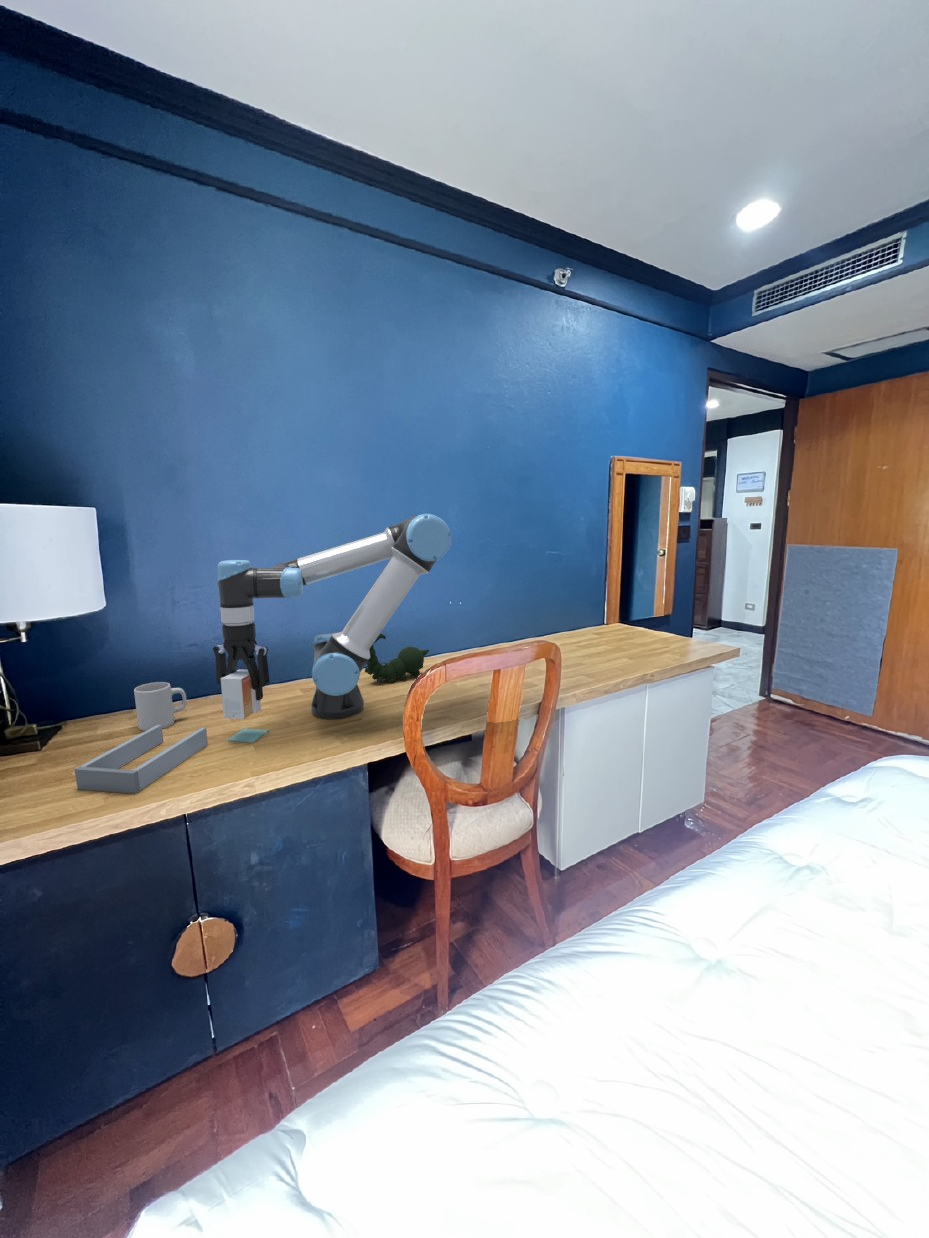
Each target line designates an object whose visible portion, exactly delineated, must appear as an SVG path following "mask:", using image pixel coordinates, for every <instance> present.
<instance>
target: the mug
mask: <svg viewBox="0 0 929 1238" xmlns="http://www.w3.org/2000/svg"><path fill="white" fill-rule="evenodd" d="M133 693H134V694H133V695H134V699H135V701H134V702H135V709H136V716H137V717H136V718H137V725H138V730H140V731H142V732H145V731H147V730H149V729H150V728H152V727H154V726H156V725H162V730H163V729H166V728H168V727H171V726H172V725H173V724H174V723H175V721H176V720H175V713H178V712H181V711H183V710H184V709H185V708H186V707H187V695H186V692H185V690H184V689H183V688H182V687H171V684H170V683H169V682H166V681H165V682H164V681H155V682H149V683H145V684H141V685H138V686H136V687H135V688H134V690H133ZM175 694H176V695H177V694H179V695H181V698H182V701H181V704H180V705H176V706H175V705H174V704H173V696H174V695H175Z"/></svg>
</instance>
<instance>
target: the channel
mask: <svg viewBox="0 0 929 1238" xmlns="http://www.w3.org/2000/svg"><path fill="white" fill-rule="evenodd" d="M163 743H164V735H163V729H162V725H156V726H154V727H152V728H150V729H149V730H147V731H142V732H141V733H139V734H137V735H136V736H134V737H131V738H129V739H128V740H127V741H124V742H123V743H121V744H119V745H116V746H115V747H113V748H112V749H109V750H108V751H105V752H104V753H102V754H100V755H99V756H98V755H97V757H94V758H93V759H91V760H89V761H87V762H85V763H84V764H81V765H80V766H78V767H76V768H74V774H75V780H76V782H75V783H76V787H77V790H82V791H96V792H108V793H120V794H121V793H122V794H135V795H136V794H137V793H140V792H141V791H142V790H144V789H145V788H146V787H148V786H149V785H151V784H152V783H154V782H155V781H156V780H158V779H159V778H161V777H163V776H164V775H165V774H167V773H168V772H170V771H172V770H173V769H174V768H176V767H177V766H179V765H181V763H183V762H185V761H186V760H188V759H189V758H191V757H192V756H194V755H195V754H197V753H198V752H200V751H201V750H202V749H203V748H206V747H207V746H208V745H209V743H208V731H207V727H200V728H199V729H197V730H196V731H194V732H192V733H190V734H188V736H185V737H184V738H183V739H180V740H178V741H177V742H176V743H174V744H173V745H171V746H169V747H167V748H166V749H164V750H162V751H161V752H160V753H158V754H156V755H154V756H153V757H152V758H150V759H148V760H147V761H145V762H143V763H142V764H140V765H138V766H136V767H135V768H134V769H132V770H131V769H120V768H122V767H123V766H126V765H127V764H129V763H130V762H132V761H134V760H136V759H137V758H139V757H140V756H142V755H144V754H146V753H147V752H149V751H151V750H152V749H154V748H156V747H157V746H159V745H161V744H163Z"/></svg>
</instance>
